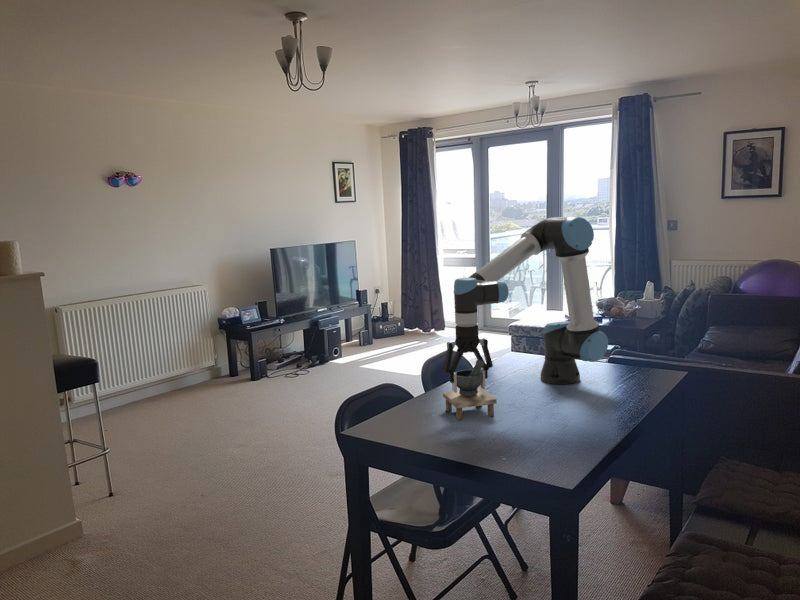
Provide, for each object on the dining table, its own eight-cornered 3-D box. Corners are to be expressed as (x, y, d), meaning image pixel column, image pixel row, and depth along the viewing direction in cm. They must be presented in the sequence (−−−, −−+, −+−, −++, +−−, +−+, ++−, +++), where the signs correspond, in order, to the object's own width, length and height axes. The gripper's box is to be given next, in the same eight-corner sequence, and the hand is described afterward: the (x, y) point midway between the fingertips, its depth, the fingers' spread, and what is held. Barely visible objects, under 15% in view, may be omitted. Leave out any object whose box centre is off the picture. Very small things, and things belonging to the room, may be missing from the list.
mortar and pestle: (448, 394, 201) (447, 359, 200) (464, 387, 208) (462, 354, 207) (477, 399, 194) (475, 363, 192) (492, 392, 201) (490, 357, 200)
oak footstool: (481, 404, 210) (480, 388, 209) (496, 416, 197) (496, 399, 196) (443, 409, 207) (442, 392, 206) (456, 421, 194) (456, 404, 193)
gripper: (493, 320, 204) (495, 383, 207) (431, 325, 199) (434, 390, 202) (502, 323, 197) (503, 389, 200) (438, 329, 192) (441, 396, 195)
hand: (468, 390), depth 201 cm, fingers closed on mortar and pestle, 9 cm apart
